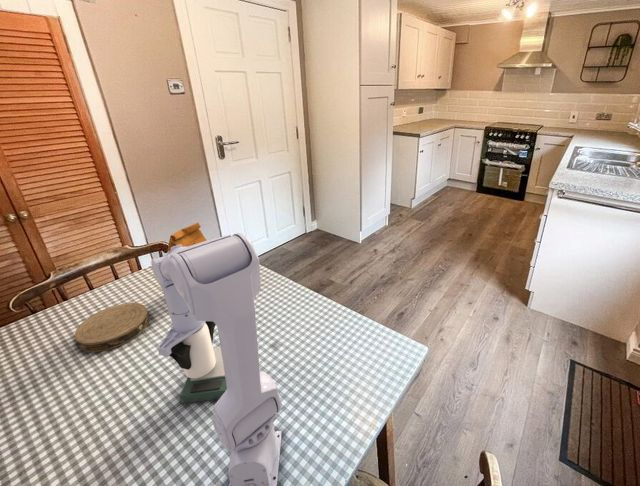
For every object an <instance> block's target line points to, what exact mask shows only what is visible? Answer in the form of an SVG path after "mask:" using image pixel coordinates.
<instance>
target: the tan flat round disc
mask: <svg viewBox="0 0 640 486" xmlns="http://www.w3.org/2000/svg"><path fill="white" fill-rule="evenodd" d="M149 323H150V314H149V311H148V309H147V307H146V306H145V304H142V303H139V302H126V303H120V304H116V305H112V306H110V307H107V308H104V309H102V310H100V311H98V312H96V313H94V314H93V315H90V316H89V317H88V318H87V319H85V320H84V321H83V322H81V323H80V325H79V326H78V327H77V328H76V330H75V333H74V338H75V340H76V343H77V344H78V347H79V349H81V350H82V351H85V352H88V353H89V352H90V353H97V352H98V353H99V352H103V351H104V352H105V351H109V350H111V349H114V348H117V347H120V346H122V345H124V344H126V343H128V342H130V341H131V340H133V339H135V338H136V337H137V336H139V335H140V334H141V333H142V332H143V331H144V330H145V329H146V328H147V326H148V325H149Z"/></svg>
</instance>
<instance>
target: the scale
mask: <svg viewBox="0 0 640 486" xmlns="http://www.w3.org/2000/svg"><path fill="white" fill-rule="evenodd" d="M213 350H214V354H215V359H216V364H215V366H214V368H213V369H212V370H211V371H210V372H209V373H208V374H207V375H205V376H203V377H200V378H196V379H193V378H188V377H186V378H187V379H186V380H185V383H184V385H183V388H182V390H181V392H180V395H179V399H180V403H181V404H182V405H183V404H188V403H196V402H203V401H210V400H219V399H220V398H221V396H222V395H223V394H224V392H225V391H226V390H227V385H226V379H225V372H224V366H223V360H222V353H221V347H220V346H216V347H214V346H213Z"/></svg>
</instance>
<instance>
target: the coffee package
mask: <svg viewBox="0 0 640 486" xmlns="http://www.w3.org/2000/svg"><path fill="white" fill-rule="evenodd" d="M200 228H202V226H201V224H200V222H196V223H193V224H191V225H189V226H186V227H184V228H181V229H179V230H178V231H175V232H174V233H172V234H171V235H170V236H169V239H168V240H169V241H168V245H167V252H168V251H171V247H173V246H177V245H180V244H181V245H182V247H188V246H191V245H195V244H198V243H201V242H204V241H207V240H208V239H207V237H205V236H204V234H203V232H202V231H201V230H200Z"/></svg>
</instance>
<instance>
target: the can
mask: <svg viewBox="0 0 640 486" xmlns="http://www.w3.org/2000/svg"><path fill="white" fill-rule="evenodd" d="M183 342H184V344H185V345H191V348H190V360H191V368H190V369H189V370H188V369H183V368H182V370H183V373H184V375H185V377H186V378H193V379H196V378H200V377H203V376H205V375H207V374H208V373H209V372H210V371H211V370H212V369H213V368H214V366H215V364H216V359H215V354H214V350H213V348H214V346H213V343H212V341H211V337H210V333H209V329H208V326H207V324H206V323H205V324H204V325H203V327H202V328H201V329H199V330H198V331H196V332H195V333H193V334H192V335H190V336H189V337H187V338H185V339H184V340H182V343H183Z"/></svg>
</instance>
